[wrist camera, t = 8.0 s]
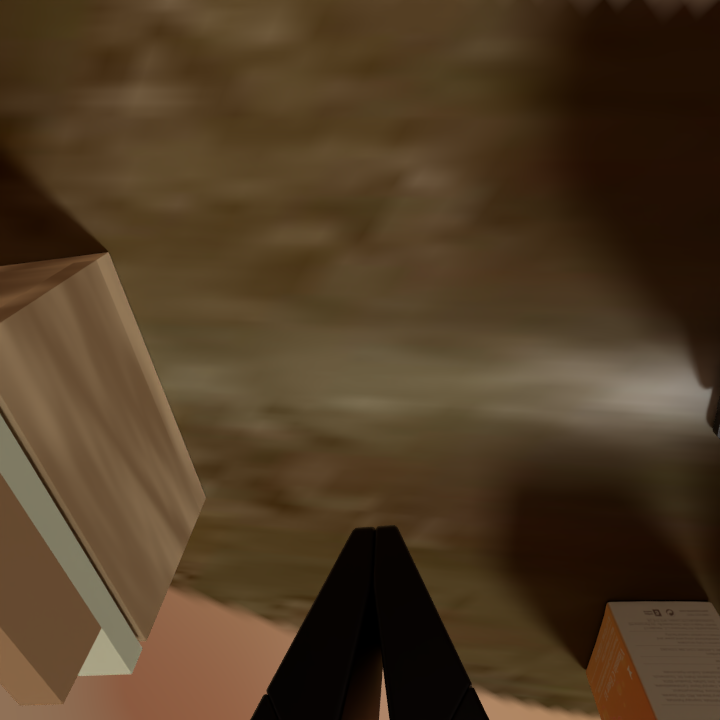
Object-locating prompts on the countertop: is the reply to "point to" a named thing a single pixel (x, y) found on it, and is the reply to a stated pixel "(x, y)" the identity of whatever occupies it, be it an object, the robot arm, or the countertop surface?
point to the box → (97, 425)
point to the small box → (657, 661)
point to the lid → (50, 595)
